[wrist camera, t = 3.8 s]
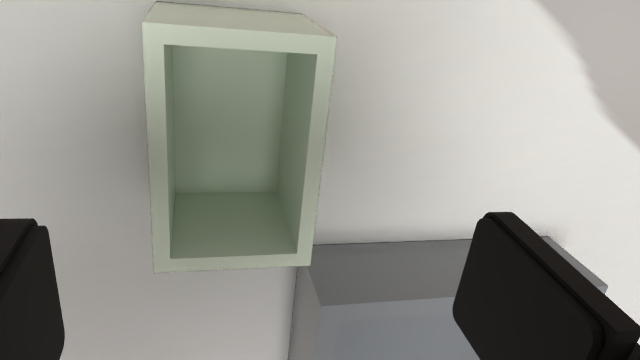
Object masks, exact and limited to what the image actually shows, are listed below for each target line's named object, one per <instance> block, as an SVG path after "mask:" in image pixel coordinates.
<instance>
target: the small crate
mask: <svg viewBox="0 0 640 360" xmlns="http://www.w3.org/2000/svg"><path fill="white" fill-rule="evenodd" d="M142 40H143V60H144V81H145V102H146V122H147V143H148V164H149V184H150V205H151V226H152V246H153V267H154V273H168V272H188V271H209V270H229V269H250V268H271V267H291V266H310V264H311V255H312V247H313V238H314V230H315V221H316V213H317V204H318V196H319V187H320V178H321V170H322V161H323V153H324V144H325V136H326V127H327V119H328V110H329V102H330V93H331V85H332V76H333V68H334V59H335V51H336V42H337V37H336V36H335V35H333V34H332V33H330V32H329V31H327V30H326V29H324V28H323V27H321V26H319V25H318V24H316V23H315V22H313V21H312V20H310V19H309V18H307V17H306V16H304V15H303V14H297V13H286V12H274V11H263V10H251V9H240V8H228V7H217V6H205V5H194V4H182V3H171V2H159V1H156V3H155V4H154V5H153V7H152V8H151V10H150V11H149V12H148V14H147V15H146V17H145V18H144V20H143V21H142Z"/></svg>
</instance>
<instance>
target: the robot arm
mask: <svg viewBox="0 0 640 360" xmlns="http://www.w3.org/2000/svg"><path fill="white" fill-rule="evenodd" d="M452 312H453V317H454V320H455V322H456V323H457V325H458V326H459V328H460V330H461V331H462V333H463V334H464V336H465V337H466V339H467V340H468V342H469V343H470V345H471V346H472V348H473V349H474V351H475V353H476V354H477V356H478V357H479V359H480V360H640V345H639V344H638V343H637V341H638V339H639V338H640V326H639V325H638V324H637V323H636V322H635V321H634V320H632V319H631V318H630V317H629V316H628V315H627V314H626V313H625V312H623V311H622V310H621V309H620V308H619V307H618V306H617V305H616V304H615V303H613V302H612V301H611V300H610V299H609V298H608V297H607V296H606V295H605V294H603V293H602V292H601V291H600V290H599V289H598V288H597V287H596V286H594V285H593V284H592V283H591V282H590V281H589V280H588V279H587V278H586V277H584V276H583V275H582V274H581V273H580V272H579V271H578V270H577V269H576V268H574V267H573V266H572V265H571V264H570V263H569V262H568V261H567V260H565V259H564V258H563V257H562V256H561V255H560V254H559V253H558V252H557V251H555V250H554V249H553V248H552V247H551V246H550V245H549V244H548V243H547V242H545V241H544V240H543V239H542V238H541V237H540V236H539V235H538V234H536V233H535V232H534V231H533V230H532V229H531V228H530V227H529V226H528V225H526V224H525V223H524V222H523V221H522V220H521V219H520V218H519V217H518V216H516V215H515V214H514V213H512V212H489V213H487V214H485V216H484V217H483V218H482V219H480V220H479V221H478V222H477V225H476V228H475V232H474V235H473V238H472V242H471V245H470V249H469V252H468V255H467V259H466V262H465V266H464V269H463V272H462V276H461V279H460V283H459V286H458V289H457V293H456V296H455V300H454V303H453V308H452ZM64 338H65V333H64V325H63V319H62V313H61V307H60V300H59V294H58V288H57V282H56V276H55V269H54V263H53V257H52V251H51V245H50V238H49V233H48V229H47V227H46V226H38V225H37V222H36V220H34V219H0V360H59V359H60V356H61V353H62V350H63V346H64Z"/></svg>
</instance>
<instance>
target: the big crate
mask: <svg viewBox="0 0 640 360" xmlns="http://www.w3.org/2000/svg"><path fill="white" fill-rule="evenodd" d="M541 238H542V239H543V240H544V241H545V242H547V243H548V244H549V245H550V246H551V247H552V248H553V249H554V250H555V251H557V252H558V253H559V254H560V255H561V256H562V257H563V258H564V259H565V260H567V261H568V262H569V263H570V264H571V265H572V266H573V267H574V268H576V269H577V270H578V271H579V272H580V273H581V274H582V275H583V276H584V277H586V278H587V279H588V280H589V281H590V282H591V283H592V284H593V285H594V286H596V287H597V288H598V289H599V290H600V291H601V292H602V293H603V294H605V292H606V290H607V288H608V285H607V284H605V283H604V282H603V281H602V280H601V279H599V278H598V277H597V276H596V275H594V274H593V273H592V272H591V271H590V270H588V269H587V268H586V267H585V266H584V265H582V264H581V263H580V262H579V261H578V260H576V259H575V258H574V257H573V256H571V255H570V254H569V253H568V252H567V251H565V250H564V249H563V248H562V247H561V246H559V245H558V244H557V243H556V242H555V241H553V240H552V239H551V238H550V237H548V236H546V237H541ZM471 242H472V239H466V240H440V241H413V242H386V243H360V244H333V245H313V247H312V255H311V264H310V266H298V268H297V278H296V287H295V297H294V307H293V316H292V326H291V335H290V345H289V355H288V360H480V359H479V357H478V356H477V354H476V353H475V351H474V349H473V348H472V346H471V345H470V343H469V342H468V340H467V339H466V337H465V336H464V334H463V333H462V331H461V330H460V328H459V326H458V325H457V323H456V322H455V320H454V317H453V312H452V308H453V303H454V300H455V296H456V293H457V289H458V286H459V283H460V279H461V276H462V272H463V269H464V266H465V262H466V259H467V255H468V252H469V249H470V245H471Z"/></svg>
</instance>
